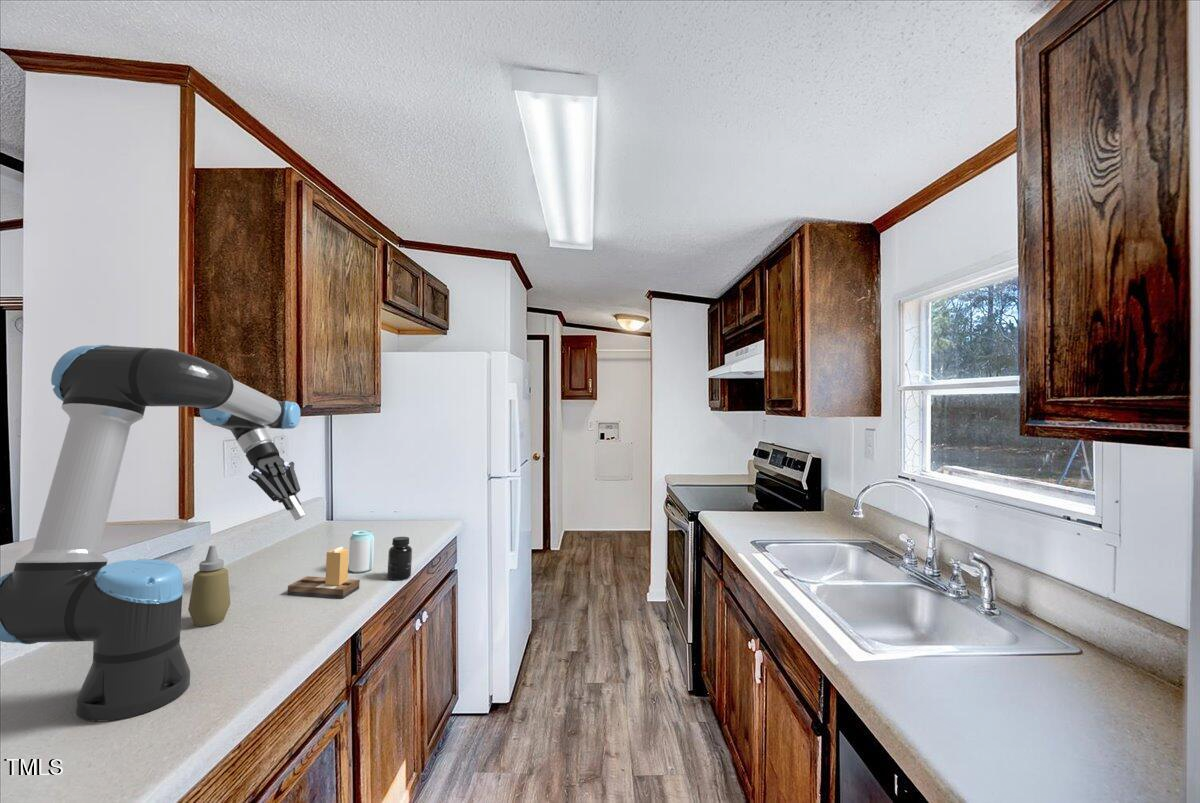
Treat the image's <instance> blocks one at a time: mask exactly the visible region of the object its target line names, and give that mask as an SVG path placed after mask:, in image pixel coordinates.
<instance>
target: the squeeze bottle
mask: <svg viewBox="0 0 1200 803" xmlns="http://www.w3.org/2000/svg"><path fill="white" fill-rule="evenodd" d="M216 547H217V546H216V545H210V546H209V547H208V550H207V554H206V556H205V560H203V561H202V560H201V562H199V566H198V569H199V570H198V571H197V572H195V573H193V574H194V575H193V580H192V586H191V591H190V597H189V603H188V613H189V616H190V618H191V620H192V623H193V625H194V626H197V627H208V626H212V625H211V624H213V625H216V624H219V623H222V620H223V621H224V619H225V618H226V615H227V613H228V611H229V608H230V605H231V593H230V581H229V571H228V569H226V568H225V567H224V566H225V565H224V564H225V563H224V562H225V561H224V559H222V558H219V557H218V550H217V548H216ZM218 622H219V623H218ZM215 623H216V624H215ZM207 625H208V626H207Z"/></svg>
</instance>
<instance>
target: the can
mask: <svg viewBox="0 0 1200 803" xmlns="http://www.w3.org/2000/svg"><path fill="white" fill-rule="evenodd" d="M374 546H375V536H374V534H373V531H372V530H363V529H362V530H356V531H353V532H352V534H351V536H350V537H349V546H348V547H349V548H348V549H349V554H348V571H349V572H352V573H355V574H363V573H366V572H370V571H371V570H372V569H373V568H374V551H375V550H374V548H375V547H374Z"/></svg>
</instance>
